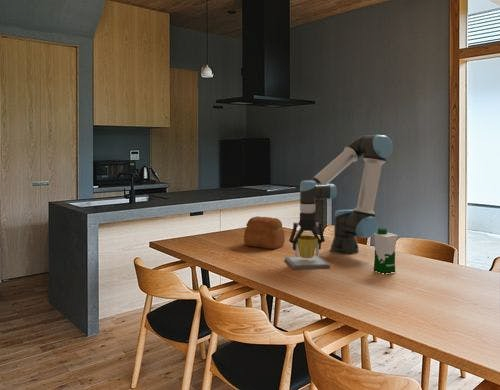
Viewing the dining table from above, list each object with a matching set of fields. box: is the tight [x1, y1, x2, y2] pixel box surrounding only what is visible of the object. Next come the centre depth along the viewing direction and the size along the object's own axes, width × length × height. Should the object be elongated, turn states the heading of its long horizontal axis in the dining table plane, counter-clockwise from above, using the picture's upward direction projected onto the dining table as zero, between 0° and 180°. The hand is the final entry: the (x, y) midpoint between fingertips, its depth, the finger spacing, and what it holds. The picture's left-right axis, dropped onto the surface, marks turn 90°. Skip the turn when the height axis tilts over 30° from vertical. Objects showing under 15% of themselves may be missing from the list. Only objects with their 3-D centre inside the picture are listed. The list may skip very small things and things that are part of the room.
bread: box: [243, 216, 286, 250], centre depth 261 cm, size 18×21×17 cm
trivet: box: [284, 255, 331, 270], centre depth 223 cm, size 18×18×2 cm
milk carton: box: [373, 227, 398, 274], centre depth 207 cm, size 9×9×20 cm
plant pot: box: [297, 234, 318, 258], centre depth 222 cm, size 10×10×10 cm
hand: (306, 256), depth 223 cm, fingers closed on plant pot, 10 cm apart
